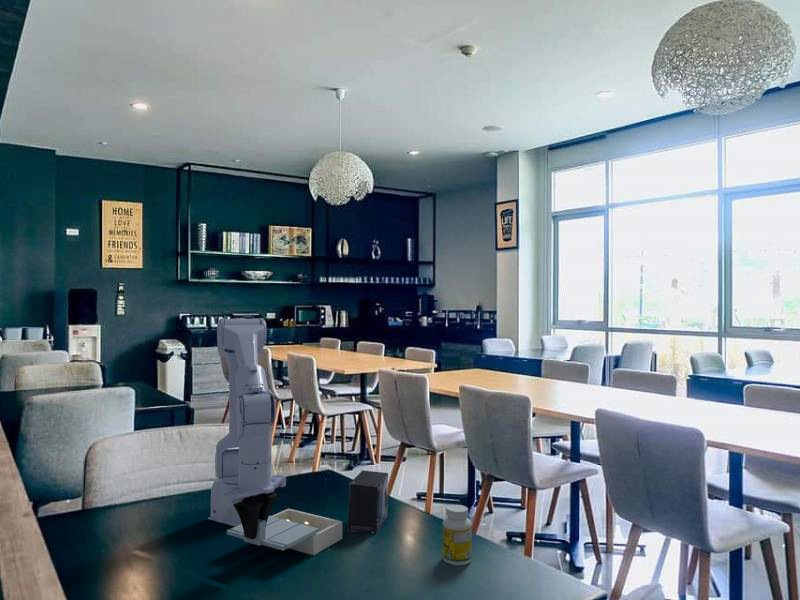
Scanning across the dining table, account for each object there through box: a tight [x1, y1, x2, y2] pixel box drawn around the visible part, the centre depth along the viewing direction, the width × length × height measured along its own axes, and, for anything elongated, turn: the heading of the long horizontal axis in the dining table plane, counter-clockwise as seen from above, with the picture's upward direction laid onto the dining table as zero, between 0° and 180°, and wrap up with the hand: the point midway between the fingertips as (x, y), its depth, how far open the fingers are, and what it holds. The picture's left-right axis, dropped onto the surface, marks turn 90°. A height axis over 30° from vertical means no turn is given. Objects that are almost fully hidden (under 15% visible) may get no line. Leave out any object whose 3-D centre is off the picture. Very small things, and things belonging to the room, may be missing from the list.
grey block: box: [271, 508, 343, 556], centre depth 118 cm, size 14×9×4 cm, turn 59°
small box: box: [347, 470, 389, 535], centre depth 126 cm, size 11×6×10 cm, turn 168°
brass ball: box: [299, 521, 311, 526], centre depth 118 cm, size 3×3×3 cm
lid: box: [226, 515, 319, 552], centre depth 111 cm, size 14×10×4 cm
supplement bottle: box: [442, 504, 473, 567], centre depth 110 cm, size 5×5×10 cm
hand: (254, 535), depth 107 cm, fingers closed on lid
